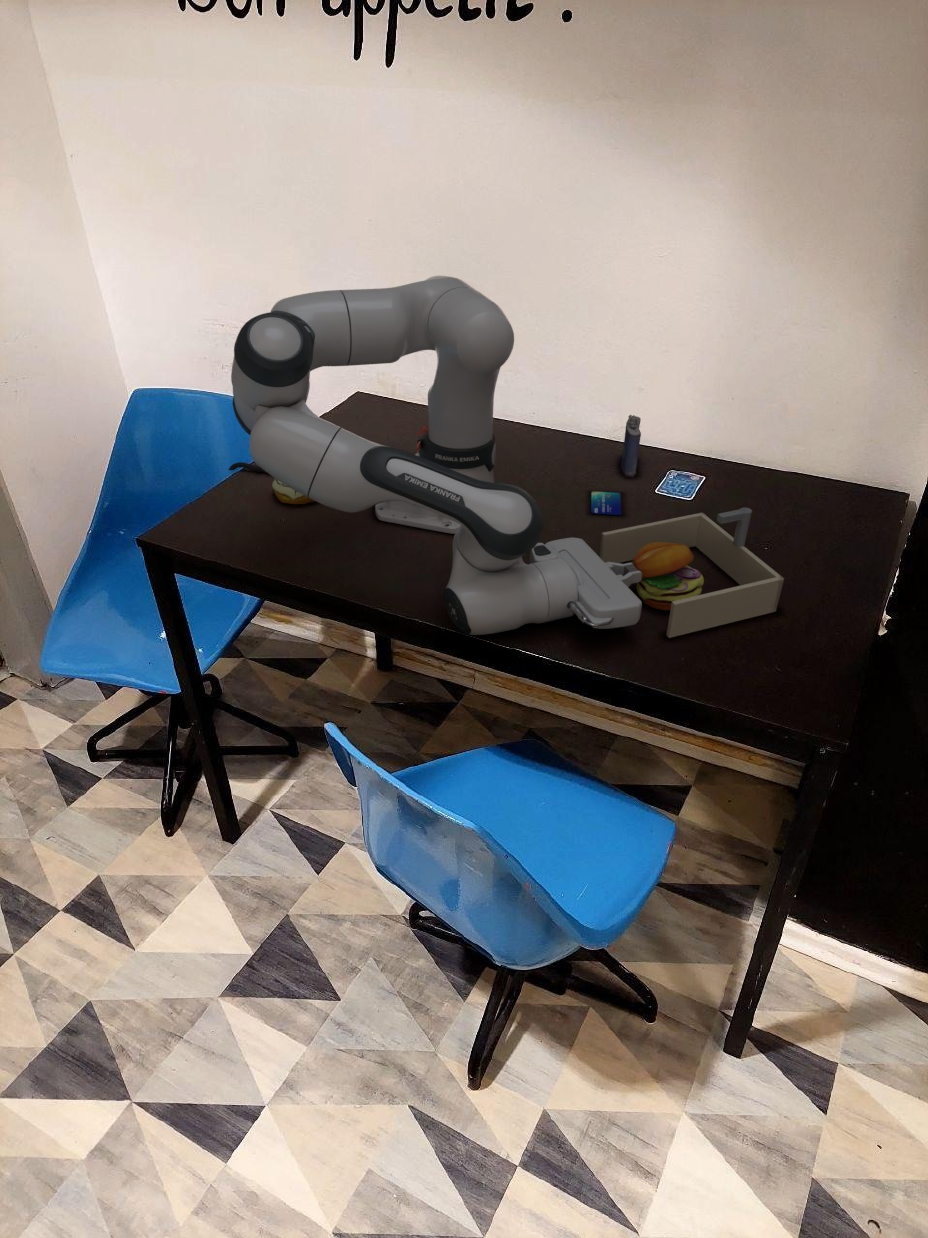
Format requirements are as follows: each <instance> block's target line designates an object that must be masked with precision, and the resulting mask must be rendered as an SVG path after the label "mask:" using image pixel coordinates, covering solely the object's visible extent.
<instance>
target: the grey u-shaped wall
mask: <svg viewBox="0 0 928 1238" xmlns="http://www.w3.org/2000/svg"><path fill="white" fill-rule="evenodd" d="M752 513H753V510H752V509H751V508H750V507H741V508H738V509H735V510H729V511H726V512H720V513H717V517H716V522H718V523H719V524H720V525H723V524H729V523H733V522H736V527H735V532H734V536H732V535H730V534H729V532H727V531H726V530H725V529H723V528H722V527H721V526H720V525H718V523H716V522H715V521H713V520H712V519H711V518H709V517H708V516H707V515H706V514H705V513H704V512H697V513H693V514H690V515H689V514H688V515H682V516H678V517H673V518H668V519H663V520H658V521H654V522H653V521H652V522H649V523H644V524H640V525H639V524H638V525H634V526H629V527H624V528H619V529H614V530H609V531H603V532H602V533H601V541H600V550H599V557H600V558H601V559H602V560H603V562H604V563H606V562H614V563H620V564H621V563H624V562H629V561H630V562H631V561H633V560H634V558H635V557H636V555H637V553H638V552H639V550H640V549H641V548H643V547H644V546H645V545H647V544H650V543H655V542H665V543H674V544H684V545H687V546H688V548H689V549H691V548H694V547H696V548H697V549H698V550H699V551H700V552H701V553H703V555H704V556H706V557H707V558H708V559H709V560H710V561H712V562H713V564H715V565H716V566H717V567H719V568H720V569H721V570H722V571H723V572H724V573H726V574H727V575H728V576H729V577H730V578H731V579H732V580H733V581H735V582H736V583H737V584H738V585H736V586H733V587H728V588H724V589H720V590H716V591H711V592H707V593H703V594H702V593H701V595H698V596H694V597H689V598H685V599H681V600H677V601H672V604H671V610H669V615H668V616H669V617H668V623H667V629H666V633H665V634H666V637H667V638H669V639H671V638H675V637H679V636H684V635H686V634H690V633H695V632H699V631H703V630H707V629H711V628H715V627H720V626H723V625H727V624H731V623H735V622H738V621H743V620H747V619H748V620H749V619H752V618H755V617H759V616H763V615H769V614H772V613H776V612H777V609H778V604H779V601H780V597H781V593H782V589H783V585H784V581H785V578H784V577H783V576H782V575H781V574H779V573H778V572H777V571H776V570H774V569H773V568H772V567H771V566H769V565H768V564H767V563H765V562H764V561H763V560H762V559H761V558H759V556H757V555H756V554H754V553H753V552H752V551H750V550H749V549H748V548H747V547H746V541H747V537H748V532H749V527H750V523H751V518H752Z"/></svg>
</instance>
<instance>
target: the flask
mask: <svg viewBox="0 0 928 1238" xmlns="http://www.w3.org/2000/svg"><path fill="white" fill-rule="evenodd" d="M641 421H642V419H641V417H639V416H636V415H634V414H633V415H632V414H629V415H628V419H627V421H626V423H625V429H624V430H625V432H624V439H623V449H622V455H621V462H620V468H621V473H622V474H623V476H624V477H627V478H634V477H635V476H636V475H637V465H638V460H639V459H638V457H639V449H640V444H641V437H642V432H641V430H640V425H641Z"/></svg>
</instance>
